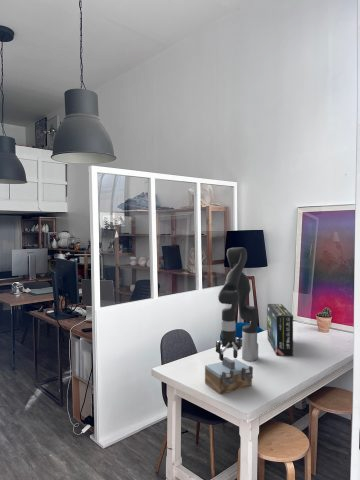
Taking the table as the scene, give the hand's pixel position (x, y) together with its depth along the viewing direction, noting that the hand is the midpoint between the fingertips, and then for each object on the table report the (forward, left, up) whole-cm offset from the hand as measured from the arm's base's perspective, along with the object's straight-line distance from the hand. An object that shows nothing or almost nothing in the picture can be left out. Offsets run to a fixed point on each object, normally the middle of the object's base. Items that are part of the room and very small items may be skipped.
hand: (228, 359), depth 189 cm
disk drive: (-44, -55, -14) cm, 72 cm away
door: (0, 0, -6) cm, 6 cm away
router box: (-66, -34, -14) cm, 75 cm away
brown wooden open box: (0, +1, -14) cm, 14 cm away
